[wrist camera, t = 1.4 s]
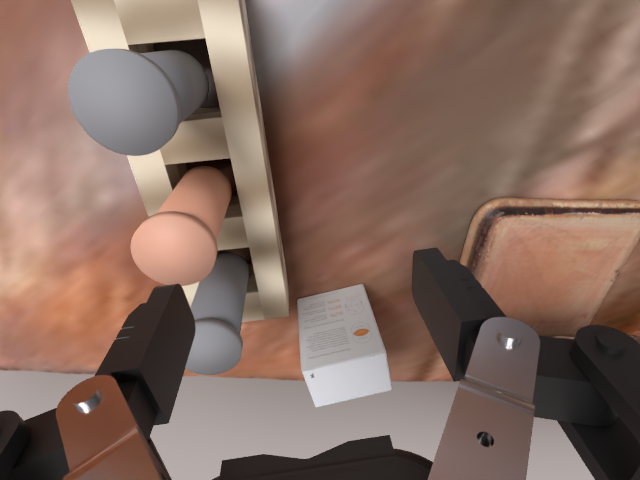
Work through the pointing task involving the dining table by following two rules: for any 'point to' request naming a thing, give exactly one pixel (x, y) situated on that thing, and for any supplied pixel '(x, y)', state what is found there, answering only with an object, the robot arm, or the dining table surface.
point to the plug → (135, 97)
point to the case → (551, 257)
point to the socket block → (207, 128)
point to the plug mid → (184, 229)
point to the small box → (341, 346)
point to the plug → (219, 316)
